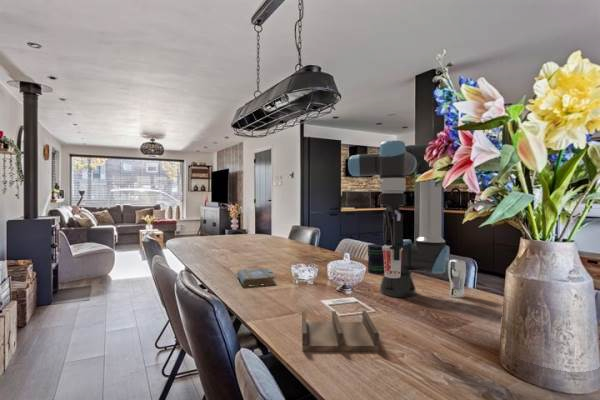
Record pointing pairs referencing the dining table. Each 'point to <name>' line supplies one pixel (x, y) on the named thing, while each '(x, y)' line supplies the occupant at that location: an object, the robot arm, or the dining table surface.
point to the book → (256, 276)
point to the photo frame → (345, 301)
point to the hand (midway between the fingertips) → (392, 268)
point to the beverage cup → (389, 263)
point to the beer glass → (457, 277)
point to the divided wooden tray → (339, 335)
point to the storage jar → (375, 259)
